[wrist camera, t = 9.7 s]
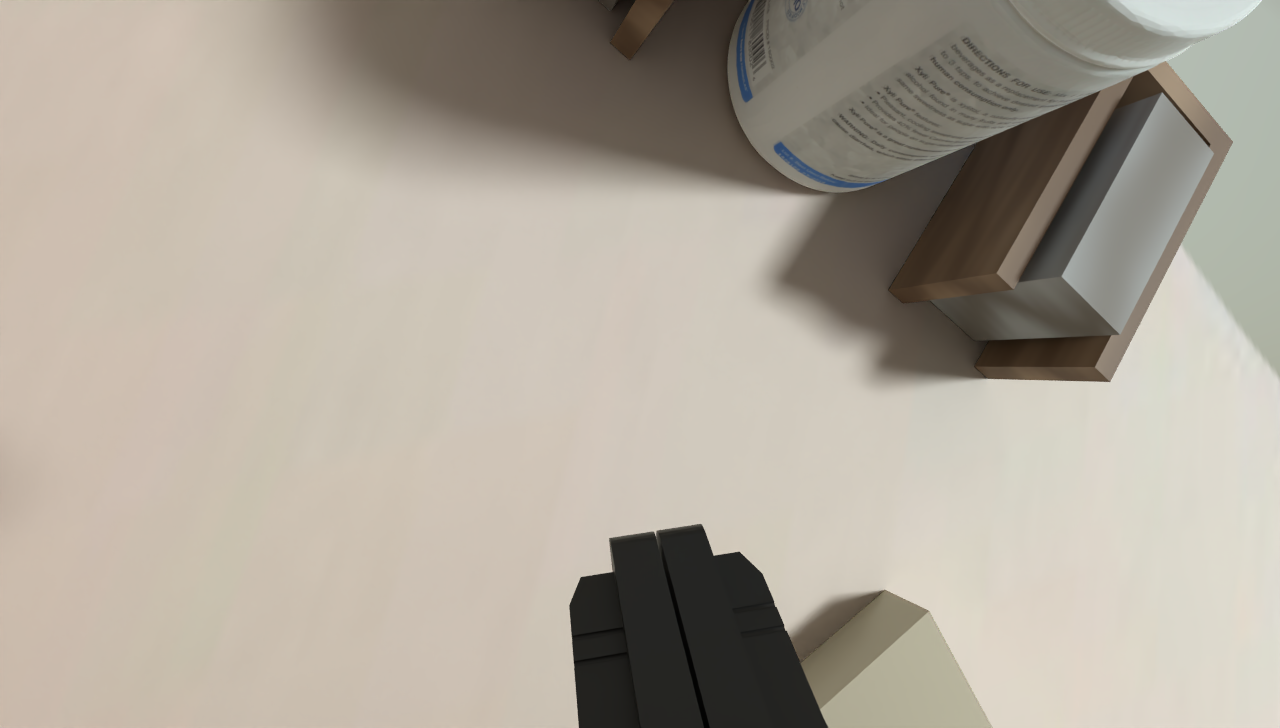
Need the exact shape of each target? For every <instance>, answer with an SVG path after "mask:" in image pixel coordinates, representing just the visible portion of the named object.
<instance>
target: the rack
mask: <svg viewBox="0 0 1280 728" xmlns="http://www.w3.org/2000/svg"><path fill="white" fill-rule="evenodd" d="M598 1H599V2H600V3H601V4H602V5H603V6H605V7H606V8H607V9H608V10H609V11H611V10H612V8H613V7H614V6H615V4H616V3H617V2H618V1H619V0H598ZM674 1H675V0H636V1H635V2H634V4H633V6H632V7H631V9H630V10H629V12H628V14H627V15H626V17H625V19H624V20H623V22H622V24H621V25H620V27H619V29H618V30H617V32H616V34H615V35H614V37H613V39H612V40H611V42H610V43H611V44H612V45H613V46H614V47H615V48H617V49H618V50H619V51H620V52H621V53H622V54H623V55H624V56H626V57H627V58H628V59H629V60H631V58H632V57H633V56H634V54H635V53H636V52H637V50H638V49H639V48H640V46H641V45H642V44H643V42H644V41H645V40H646V38H647V37H648V36H649V34H650V33H651V32H652V30H653V29H654V28H655V26H656V25H657V24H658V22H659V21H660V19H661V18H662V17H663V15H664V14H665V13H666V11H667V10H668V9H669V7H670V6H671V5H672V3H673V2H674ZM1232 143H1233V141H1232V140H1231V139H1230V138H1229V137H1228V135H1227V134H1226V133H1225V132H1224V131H1223V129H1222V128H1221V127H1220V126H1219V125H1218V123H1217V122H1216V121H1215V120H1214V119H1213V117H1212V116H1211V115H1210V114H1209V112H1208V111H1207V110H1206V109H1205V108H1204V106H1203V105H1202V104H1201V103H1200V102H1199V101H1198V99H1197V98H1196V97H1195V96H1194V94H1193V93H1192V92H1191V91H1190V90H1189V88H1188V87H1187V86H1186V85H1185V84H1184V82H1183V81H1182V80H1181V79H1180V78H1179V76H1178V75H1177V74H1176V73H1175V72H1174V70H1173V69H1172V68H1171V67H1170V66H1169V64H1168V63H1167V62H1166V61H1165V62H1162V63H1160V64H1158V65H1157V66H1155V67H1153V68H1151V69H1149V70H1146V71H1144V72H1142V73H1139V74H1137V75H1135V76H1133V77H1130V78H1128V79H1126V80H1123V81H1121V82H1119V83H1117V84H1115V85H1112V86H1110V87H1107V88H1105V89H1103V90H1100V91H1098V92H1096V93H1093V94H1091V95H1088V96H1086V97H1084V98H1081V99H1079V100H1077V101H1074V102H1072V103H1069V104H1067V105H1065V106H1062V107H1060V108H1058V109H1055V110H1053V111H1050V112H1048V113H1046V114H1043V115H1041V116H1038V117H1036V118H1034V119H1031V120H1029V121H1027V122H1024V123H1022V124H1019V125H1017V126H1015V127H1012V128H1010V129H1007V130H1005V131H1003V132H1000V133H998V134H996V135H993V136H991V137H988V138H986V139H984V140H981V141H979V142H978V143H977V144H976V146H975V148H974V149H973V151H972V152H971V154H970V156H969V157H968V159H967V161H966V162H965V164H964V166H963V167H962V169H961V171H960V172H959V174H958V176H957V177H956V179H955V181H954V182H953V184H952V186H951V187H950V189H949V191H948V192H947V194H946V196H945V197H944V199H943V201H942V202H941V204H940V206H939V207H938V209H937V211H936V212H935V214H934V215H933V217H932V219H931V220H930V222H929V224H928V225H927V227H926V229H925V230H924V232H923V234H922V235H921V237H920V239H919V240H918V242H917V244H916V245H915V247H914V249H913V250H912V252H911V254H910V255H909V257H908V259H907V260H906V262H905V264H904V265H903V267H902V269H901V270H900V272H899V273H898V275H897V277H896V278H895V280H894V282H893V283H892V285H891V287H890V288H889V291H890V292H891V293H892V294H893V295H894V296H895V297H897V298H898V299H899V300H900V301H901V302H902V303H911V302H919V301H927V300H930V301H931V302H932V303H933V304H934V305H935V306H936V307H937V308H939V309H940V310H941V311H942V312H943V313H944V314H945V315H946V316H947V317H949V318H950V319H951V320H952V321H953V322H954V323H955V324H956V325H957V326H959V327H960V328H961V329H962V330H963V331H964V332H965V333H966V334H967V335H968V336H970V337H971V338H972V339H973V340H974V341H986V340H989V342H988V343H987V345H986V347H985V349H984V351H983V352H982V354H981V356H980V358H979V360H978V361H977V363H976V365H975V368H976V369H978V370H979V371H980V372H981V373H982V374H983V375H984V376H985V377H987V378H988V379H1018V380H1058V381H1098V382H1110V381H1111V379H1112V377H1113V375H1114V373H1115V371H1116V369H1117V367H1118V365H1119V363H1120V362H1121V360H1122V358H1123V356H1124V354H1125V352H1126V350H1127V348H1128V346H1129V344H1130V342H1131V340H1132V338H1133V336H1134V334H1135V332H1136V330H1137V328H1138V326H1139V324H1140V322H1141V321H1142V319H1143V317H1144V315H1145V313H1146V311H1147V309H1148V307H1149V305H1150V303H1151V301H1152V299H1153V297H1154V295H1155V293H1156V291H1157V289H1158V287H1159V285H1160V283H1161V282H1162V280H1163V278H1164V276H1165V274H1166V272H1167V270H1168V268H1169V266H1170V264H1171V262H1172V260H1173V258H1174V256H1175V254H1176V252H1177V250H1178V248H1179V246H1180V244H1181V242H1182V240H1183V238H1184V237H1185V235H1186V232H1187V231H1188V229H1189V227H1190V225H1191V223H1192V221H1193V219H1194V217H1195V215H1196V213H1197V211H1198V209H1199V207H1200V205H1201V203H1202V202H1203V199H1204V198H1205V196H1206V193H1207V192H1208V190H1209V188H1210V186H1211V184H1212V182H1213V180H1214V178H1215V176H1216V174H1217V172H1218V170H1219V168H1220V166H1221V164H1222V162H1223V161H1224V159H1225V156H1226V155H1227V153H1228V151H1229V149H1230V147H1231V145H1232Z"/></svg>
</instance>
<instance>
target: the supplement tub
mask: <svg viewBox="0 0 1280 728" xmlns="http://www.w3.org/2000/svg"><path fill="white" fill-rule="evenodd" d="M1261 1H1262V0H749V1H748V2H747V4H746V5H745V7H744V9H743V10H742V12H741V14H740V16H739V18H738V20H737V22H736V25H735V27H734V30H733V33H732V37H731V41H730V45H729V52H728V67H727V73H728V85H729V90H730V96H731V100H732V104H733V107H734V111H735V113H736V116H737V119H738V121H739V123H740V125H741V127H742V129H743V131H744V133H745V134H746V136H747V138H748V140H749V141H750V143H751V144H752V145H753V147H754V148H755V149H756V151H757V152H758V153H759V154H760V155H761V156H762V157H763V158H764V159H765V160H766V161H767V162H768V163H769V164H770V165H772V166H773V167H774V168H775V169H776V170H778V171H779V172H780V173H782V174H783V175H785V176H786V177H788V178H789V179H791V180H793V181H795V182H797V183H799V184H801V185H803V186H806V187H808V188H811V189H815V190H819V191H824V192H835V193H840V192H851V191H857V190H861V189H864V188H868V187H870V186H873V185H875V184H878V183H880V182H883V181H885V180H888V179H890V178H893V177H895V176H897V175H900V174H902V173H905V172H907V171H910V170H912V169H914V168H917V167H919V166H921V165H924V164H926V163H929V162H931V161H934V160H936V159H938V158H941V157H943V156H946V155H948V154H950V153H953V152H955V151H957V150H960V149H962V148H965V147H967V146H969V145H972V144H974V143H977V142H979V141H981V140H984V139H986V138H988V137H991V136H993V135H996V134H998V133H1000V132H1003V131H1005V130H1007V129H1010V128H1012V127H1015V126H1017V125H1019V124H1022V123H1024V122H1027V121H1029V120H1031V119H1034V118H1036V117H1038V116H1041V115H1043V114H1046V113H1048V112H1050V111H1053V110H1055V109H1058V108H1060V107H1062V106H1065V105H1067V104H1069V103H1072V102H1074V101H1077V100H1079V99H1081V98H1084V97H1086V96H1088V95H1091V94H1093V93H1096V92H1098V91H1100V90H1103V89H1105V88H1107V87H1110V86H1112V85H1115V84H1117V83H1119V82H1121V81H1123V80H1126V79H1128V78H1130V77H1133V76H1135V75H1137V74H1139V73H1142V72H1144V71H1146V70H1149V69H1151V68H1153V67H1155V66H1157V65H1158V64H1160V63H1162V62H1165V61H1167V60H1169V59H1171V58H1173V57H1175V56H1177V55H1179V54H1181V53H1183V52H1184V51H1185V50H1187V49H1188V48H1189V47H1191V46H1192V45H1193V44H1195V43H1198V42H1200V41H1202V40H1205V39H1207V38H1209V37H1211V36H1213V35H1216V34H1217V33H1220V32H1221V31H1224V30H1225V29H1227V28H1229V27H1231V26H1233V25H1235V24H1236V23H1238V22H1239V21H1240V20H1242V19H1243V18H1245V17H1246V16H1247V15H1248V14H1249V13H1250V12H1251V11H1252V10H1254V8H1256V6H1257V5H1258V4H1259V3H1260V2H1261Z"/></svg>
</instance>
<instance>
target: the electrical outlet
mask: <svg viewBox="0 0 1280 728" xmlns="http://www.w3.org/2000/svg"><path fill="white" fill-rule="evenodd" d="M800 664H801V666H802V668H803V671H804V673H805V675H806V678H807V680H808V682H809V685H810V687H811V689H812V692H813V694H814V696H815V699H816V701H817V703H818V706H819V708H820V711H821V713H822V715H823V718H824V720H825V722H826V724H827V726H828V728H992V726H991V724H990V722H989V721H988V719H987V717H986V715H985V713H984V711H983V709H982V708H981V706H980V704H979V702H978V700H977V698H976V697H975V695H974V693H973V691H972V689H971V687H970V685H969V684H968V682H967V680H966V678H965V676H964V674H963V673H962V671H961V669H960V667H959V665H958V663H957V661H956V660H955V658H954V656H953V654H952V652H951V650H950V649H949V647H948V645H947V643H946V641H945V639H944V637H943V636H942V634H941V632H940V630H939V628H938V626H937V625H936V623H935V621H934V619H933V617H932V615H931V613H930V612H929V611H928V610H926V609H924V608H922V607H920V606H918V605H916V604H914V603H911V602H909V601H907V600H905V599H903V598H901V597H899V596H897V595H895V594H893V593H890V592H888V591H886V590H884V591H883V592H882V593H881V594H880V595H879V596H877V597H876V598H875V599H874V600H873V601H872V602H871V603H869V604H868V605H867V606H866V607H865V608H864V609H862V610H861V611H860V612H859V613H858V614H857V615H856V616H854V617H853V618H852V619H851V620H850V621H849V622H847V623H846V624H845V625H844V626H843V627H842V628H841V629H839V630H838V631H837V632H836V633H835V634H834V635H832V636H831V637H830V638H829V639H828V640H827V641H826V642H824V643H823V644H822V645H821V646H820V647H819V648H817V649H816V650H815V651H814V652H813V653H812V654H810V655H809V656H808V657H807V658H806V659H805V660H804V661H802V662H801V663H800Z"/></svg>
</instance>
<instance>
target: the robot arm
mask: <svg viewBox="0 0 1280 728" xmlns="http://www.w3.org/2000/svg"><path fill="white" fill-rule="evenodd" d="M609 542H610V552H611V561H612V570H613V572H611V573H604V574H598V575H592V576H586V577H581V578H580V581H579V583H578V585H577V588H576V590H575V593H574V595H573V598H572V600H571V603H570V605H569V606H570V619H571V632H572V644H573V657H574V667H575V668H574V670H575V682H576V695H577V708H578V721H579V728H828V726H827V724H826V722H825V720H824V718H823V715H822V713H821V711H820V708H819V706H818V703H817V701H816V699H815V696H814V694H813V692H812V689H811V687H810V685H809V682H808V680H807V678H806V675H805V673H804V671H803V668H802V666H801V664H800V661H799V659H798V656H797V654H796V652H795V649H794V647H793V645H792V642H791V640H790V638H789V635H788V633H787V631H785V628H784V624H783V621H782V619H781V617H780V614H779V612H778V609H777V607H775V605H774V600H773V598H772V595H771V593H770V591H769V588H768V586H767V584H766V581H765V579H764V577H763V574H762V573H761V572H760V571H759V570H758V569H757V568H756V567H755V566H754V565H753V564H752V563H751V562H750V561H749V560H747V559H746V558H745V557H744V556H743V555H742V554H741V553H740V552H735V553H729V554H722V555H716V556H713V553H712V550H711V547H710V544H709V541H708V539H707V536H706V533H705V530H704V528H703V526H702V525H701V524H697V525H691V526H684V527H678V528H671V529H665V530H658V531H657V533H656V536H655V533H654V532H647V533H640V534H634V535H627V536H621V537H614V538H609Z"/></svg>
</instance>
